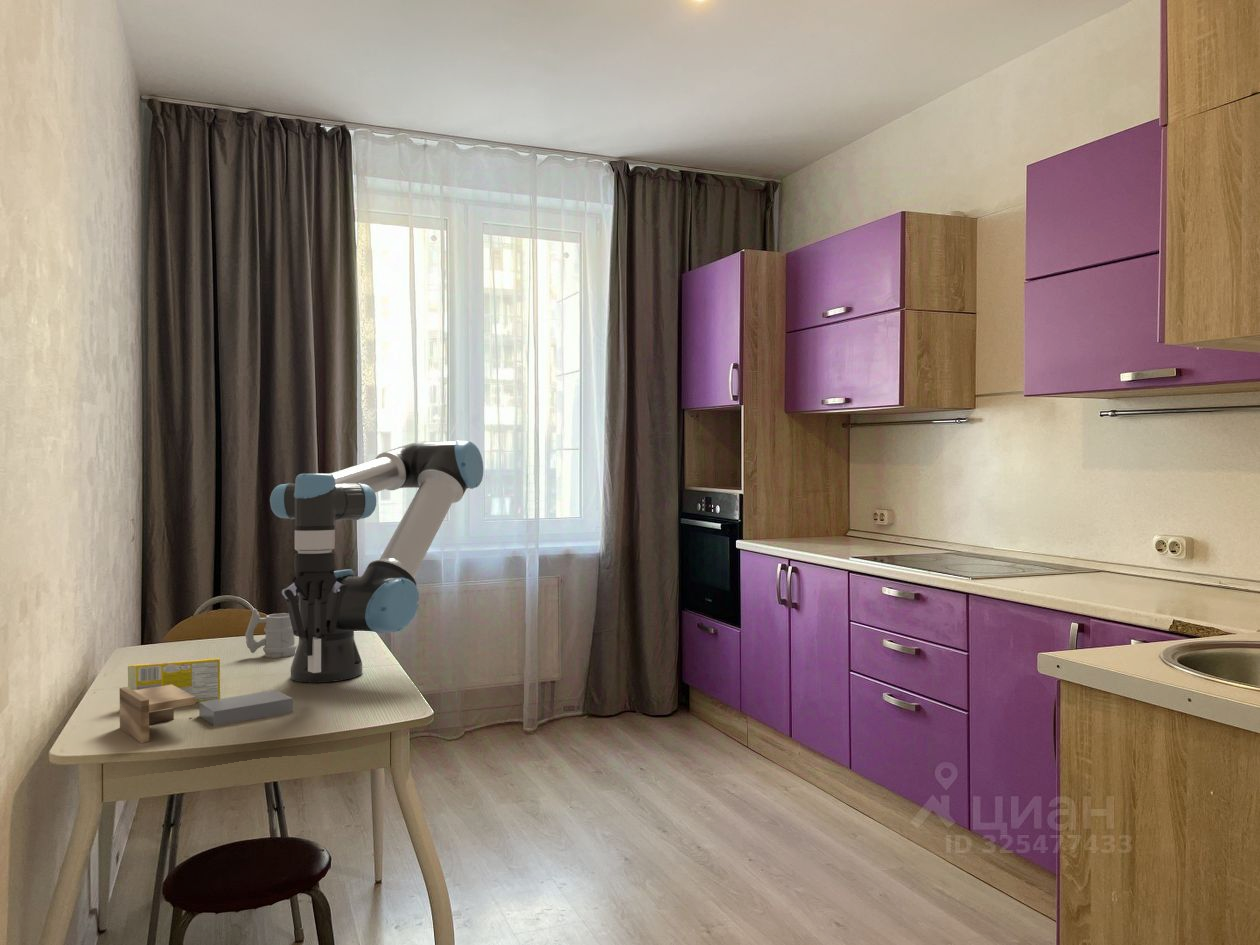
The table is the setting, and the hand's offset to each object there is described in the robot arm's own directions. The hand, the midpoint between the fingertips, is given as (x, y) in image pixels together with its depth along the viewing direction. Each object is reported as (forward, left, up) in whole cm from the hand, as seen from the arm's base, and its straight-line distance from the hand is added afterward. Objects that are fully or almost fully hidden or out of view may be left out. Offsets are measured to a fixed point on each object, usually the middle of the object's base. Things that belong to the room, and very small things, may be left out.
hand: (314, 671), depth 178 cm
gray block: (+13, 0, -6) cm, 15 cm away
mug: (-12, -51, -6) cm, 53 cm away
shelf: (+28, 0, -6) cm, 29 cm away
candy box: (+20, -18, -6) cm, 28 cm away
